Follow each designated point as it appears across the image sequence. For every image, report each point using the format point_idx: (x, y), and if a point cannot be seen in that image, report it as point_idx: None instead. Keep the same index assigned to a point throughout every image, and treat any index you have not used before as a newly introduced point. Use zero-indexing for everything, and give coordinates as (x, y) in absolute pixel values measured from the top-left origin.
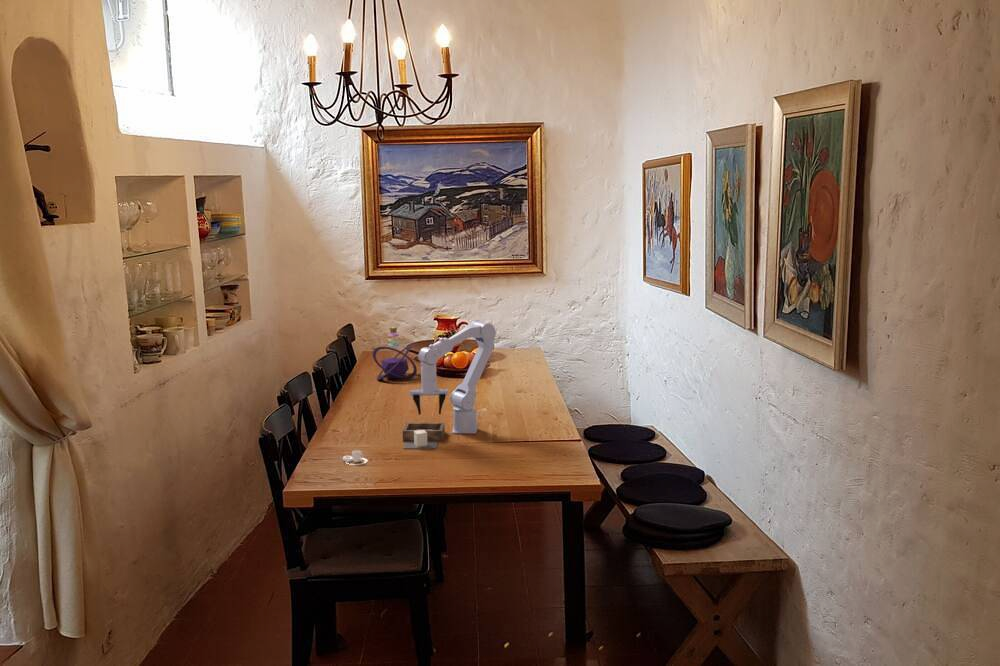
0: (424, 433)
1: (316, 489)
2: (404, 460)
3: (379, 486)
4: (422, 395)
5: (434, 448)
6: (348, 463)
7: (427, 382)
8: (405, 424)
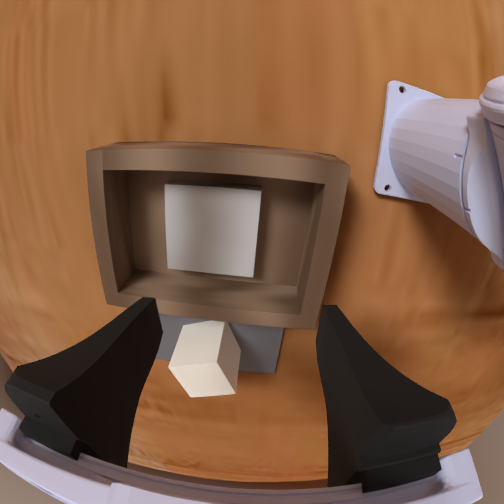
0: (223, 393)
1: None
2: (185, 419)
3: (175, 470)
4: (127, 475)
5: (268, 372)
6: None
7: None
8: (88, 189)
